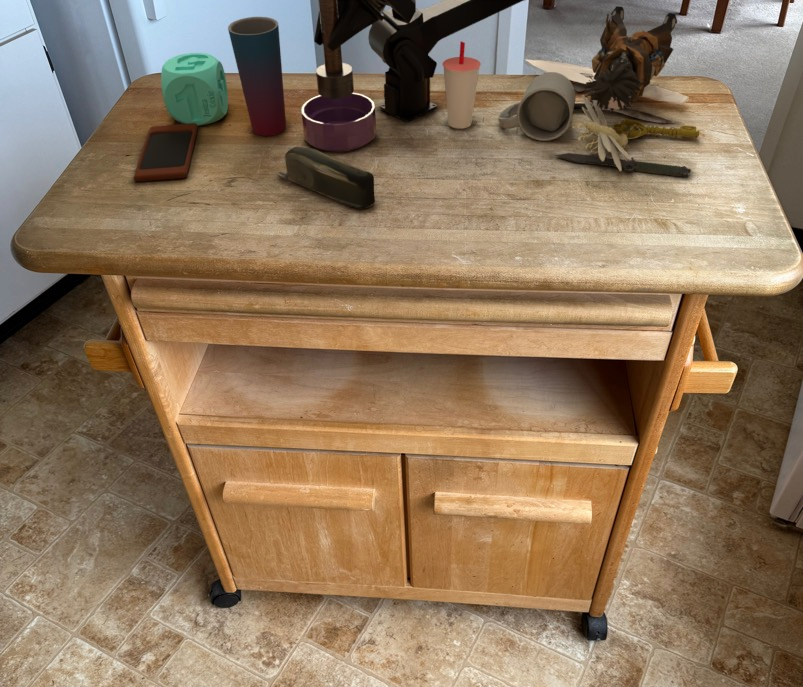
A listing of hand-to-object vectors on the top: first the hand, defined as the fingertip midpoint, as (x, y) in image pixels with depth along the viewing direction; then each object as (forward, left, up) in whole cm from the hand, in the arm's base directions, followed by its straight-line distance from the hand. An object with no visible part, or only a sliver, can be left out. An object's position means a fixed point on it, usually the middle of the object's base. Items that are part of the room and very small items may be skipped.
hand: (323, 46), depth 100 cm
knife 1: (-41, +16, -13) cm, 46 cm away
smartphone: (+14, -20, -13) cm, 28 cm away
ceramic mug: (-23, +18, -14) cm, 33 cm away
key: (-33, +32, -14) cm, 48 cm away
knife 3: (-24, +33, -13) cm, 43 cm away
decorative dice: (+9, -21, -14) cm, 27 cm away
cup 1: (+4, -10, -14) cm, 18 cm away
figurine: (-50, +16, -8) cm, 54 cm away
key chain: (-40, +20, -13) cm, 46 cm away
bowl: (-2, 0, -14) cm, 14 cm away
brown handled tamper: (-1, 0, -7) cm, 7 cm away
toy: (-23, +29, -14) cm, 39 cm away
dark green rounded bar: (+9, +10, -14) cm, 20 cm away
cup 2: (-17, +9, -14) cm, 24 cm away
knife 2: (-32, +25, -13) cm, 43 cm away
